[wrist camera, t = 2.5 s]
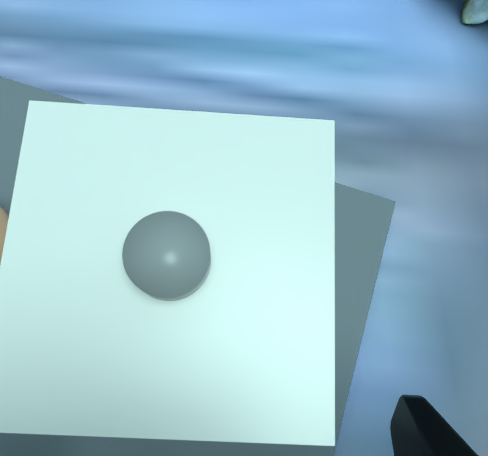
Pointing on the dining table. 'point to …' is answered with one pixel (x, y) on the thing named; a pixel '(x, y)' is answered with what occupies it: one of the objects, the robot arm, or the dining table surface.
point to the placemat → (346, 305)
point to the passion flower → (475, 11)
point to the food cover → (170, 277)
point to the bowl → (3, 228)
